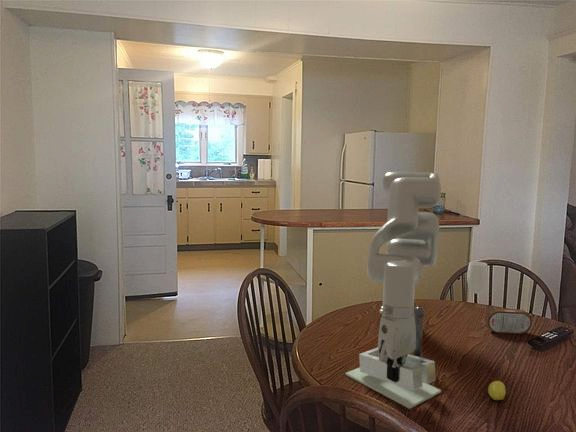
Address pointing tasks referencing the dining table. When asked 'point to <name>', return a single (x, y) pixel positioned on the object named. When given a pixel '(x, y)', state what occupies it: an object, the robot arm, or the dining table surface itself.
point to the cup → (477, 276)
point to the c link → (399, 369)
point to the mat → (395, 389)
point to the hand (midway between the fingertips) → (394, 378)
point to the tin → (508, 321)
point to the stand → (418, 330)
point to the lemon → (497, 390)
